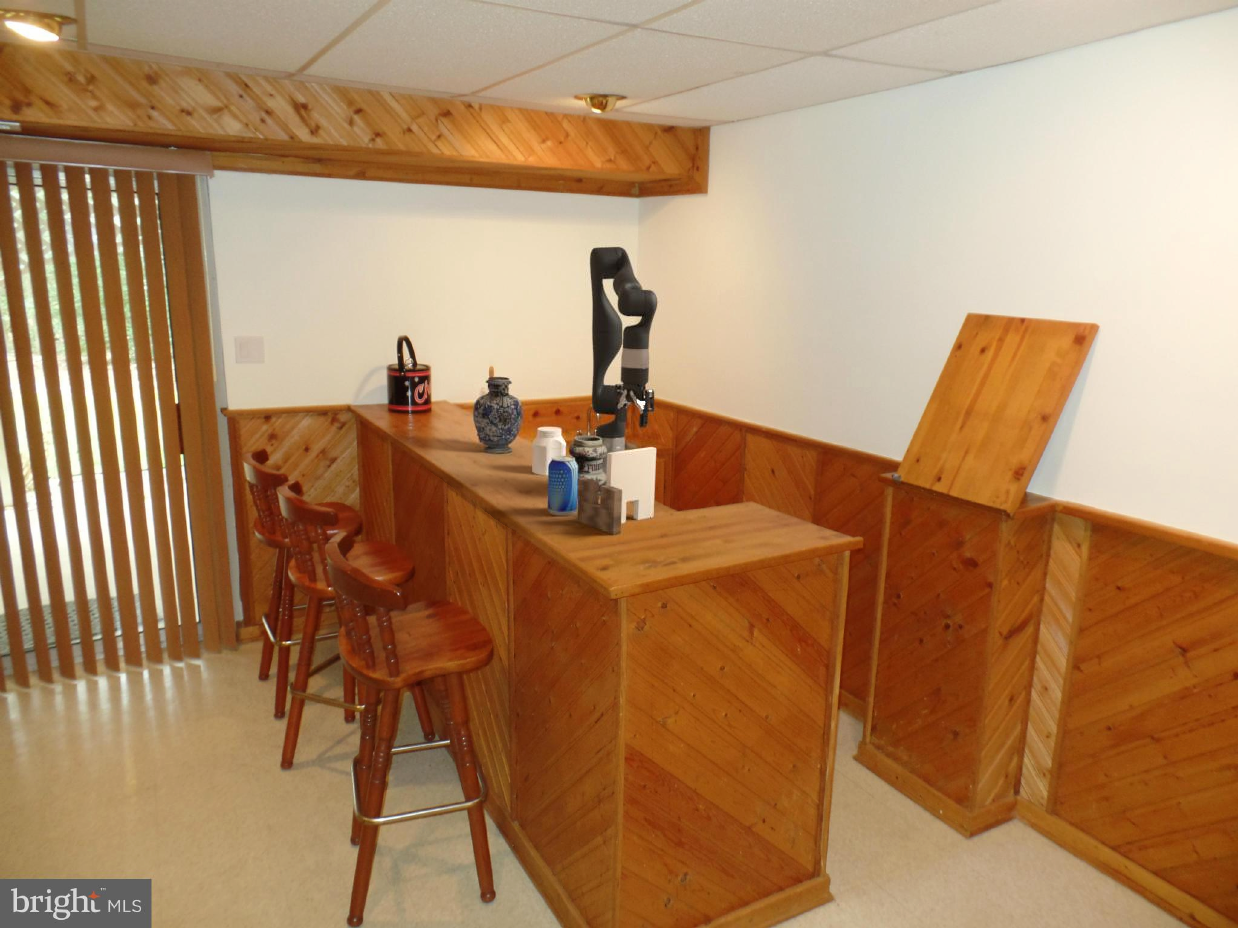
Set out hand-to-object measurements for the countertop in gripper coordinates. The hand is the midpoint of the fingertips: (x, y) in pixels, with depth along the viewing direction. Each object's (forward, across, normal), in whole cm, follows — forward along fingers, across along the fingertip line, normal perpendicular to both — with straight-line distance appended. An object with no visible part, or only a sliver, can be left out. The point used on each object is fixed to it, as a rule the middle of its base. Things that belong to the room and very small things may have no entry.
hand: (632, 424), depth 231 cm
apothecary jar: (+27, -29, +7) cm, 40 cm away
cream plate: (+27, 0, 0) cm, 27 cm away
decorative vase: (+27, -99, +17) cm, 104 cm away
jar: (+27, -61, +14) cm, 68 cm away
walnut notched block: (+27, 0, -11) cm, 29 cm away
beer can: (+28, -17, -11) cm, 34 cm away
